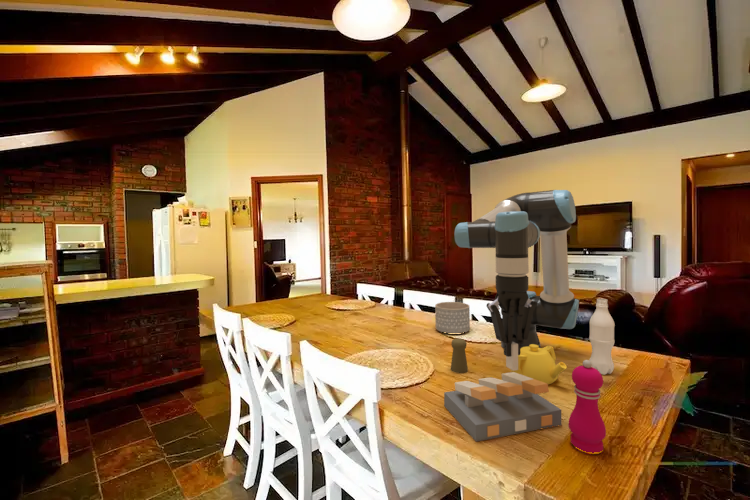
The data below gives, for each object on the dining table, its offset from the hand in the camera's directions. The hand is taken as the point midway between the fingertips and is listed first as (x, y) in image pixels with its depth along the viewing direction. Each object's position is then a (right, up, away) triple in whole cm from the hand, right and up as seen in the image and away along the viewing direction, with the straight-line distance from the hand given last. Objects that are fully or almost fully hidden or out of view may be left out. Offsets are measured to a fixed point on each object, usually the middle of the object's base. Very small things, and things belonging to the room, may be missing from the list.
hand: (512, 368), depth 85 cm
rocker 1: (-8, -7, +4) cm, 12 cm away
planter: (+4, -11, +83) cm, 84 cm away
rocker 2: (-1, -7, +6) cm, 9 cm away
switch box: (-1, -15, +6) cm, 16 cm away
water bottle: (+43, -12, +31) cm, 55 cm away
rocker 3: (+6, -7, +7) cm, 12 cm away
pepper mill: (+14, -15, -8) cm, 22 cm away
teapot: (+20, -13, +27) cm, 36 cm away
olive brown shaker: (-4, -13, +36) cm, 39 cm away
